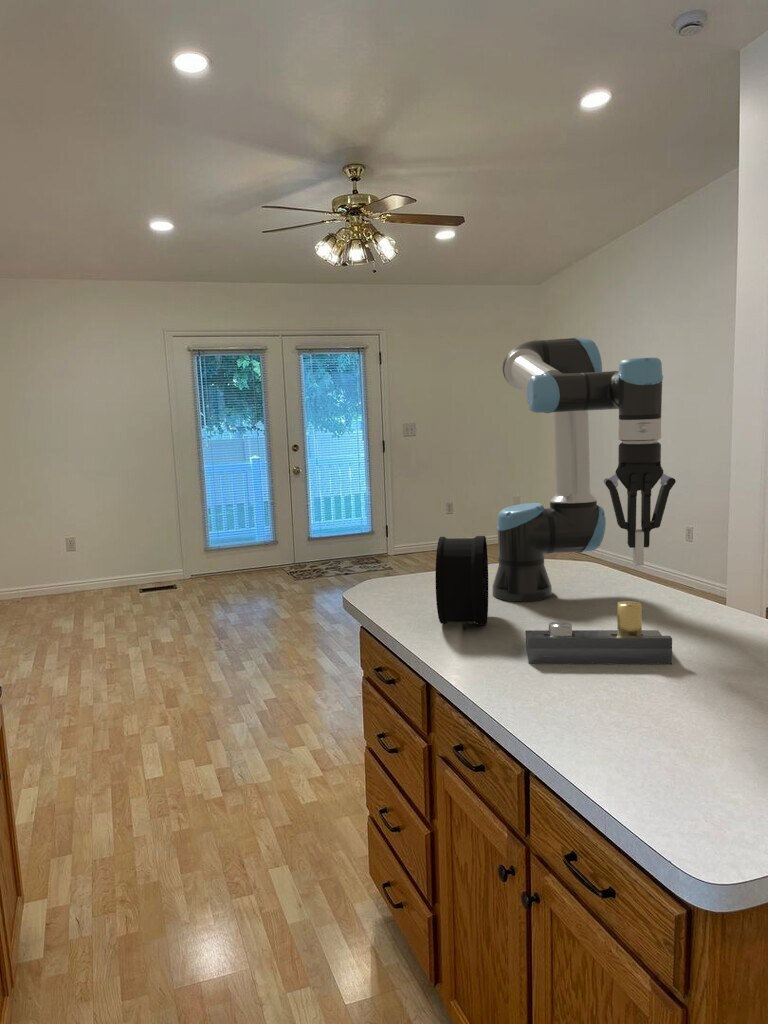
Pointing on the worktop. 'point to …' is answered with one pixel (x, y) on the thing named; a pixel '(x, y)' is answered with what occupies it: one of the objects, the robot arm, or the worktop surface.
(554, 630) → the silver metal cylinder
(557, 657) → the jig
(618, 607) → the gold metal cylinder
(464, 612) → the car wheel rim
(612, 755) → the worktop surface
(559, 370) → the robot arm
